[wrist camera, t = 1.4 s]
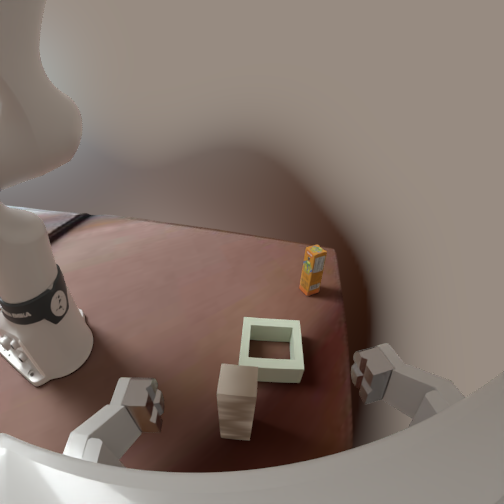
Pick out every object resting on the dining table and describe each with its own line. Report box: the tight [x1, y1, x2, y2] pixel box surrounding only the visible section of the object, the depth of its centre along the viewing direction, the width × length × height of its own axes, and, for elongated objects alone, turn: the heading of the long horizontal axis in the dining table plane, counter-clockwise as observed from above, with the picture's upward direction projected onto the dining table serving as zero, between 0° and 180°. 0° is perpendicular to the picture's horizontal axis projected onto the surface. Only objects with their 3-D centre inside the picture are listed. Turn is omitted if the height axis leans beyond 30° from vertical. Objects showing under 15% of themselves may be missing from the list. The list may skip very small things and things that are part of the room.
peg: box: [217, 364, 258, 441], centre depth 27 cm, size 4×4×12 cm
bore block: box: [239, 317, 304, 383], centre depth 40 cm, size 9×10×4 cm
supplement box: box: [299, 245, 327, 296], centre depth 54 cm, size 3×3×10 cm
